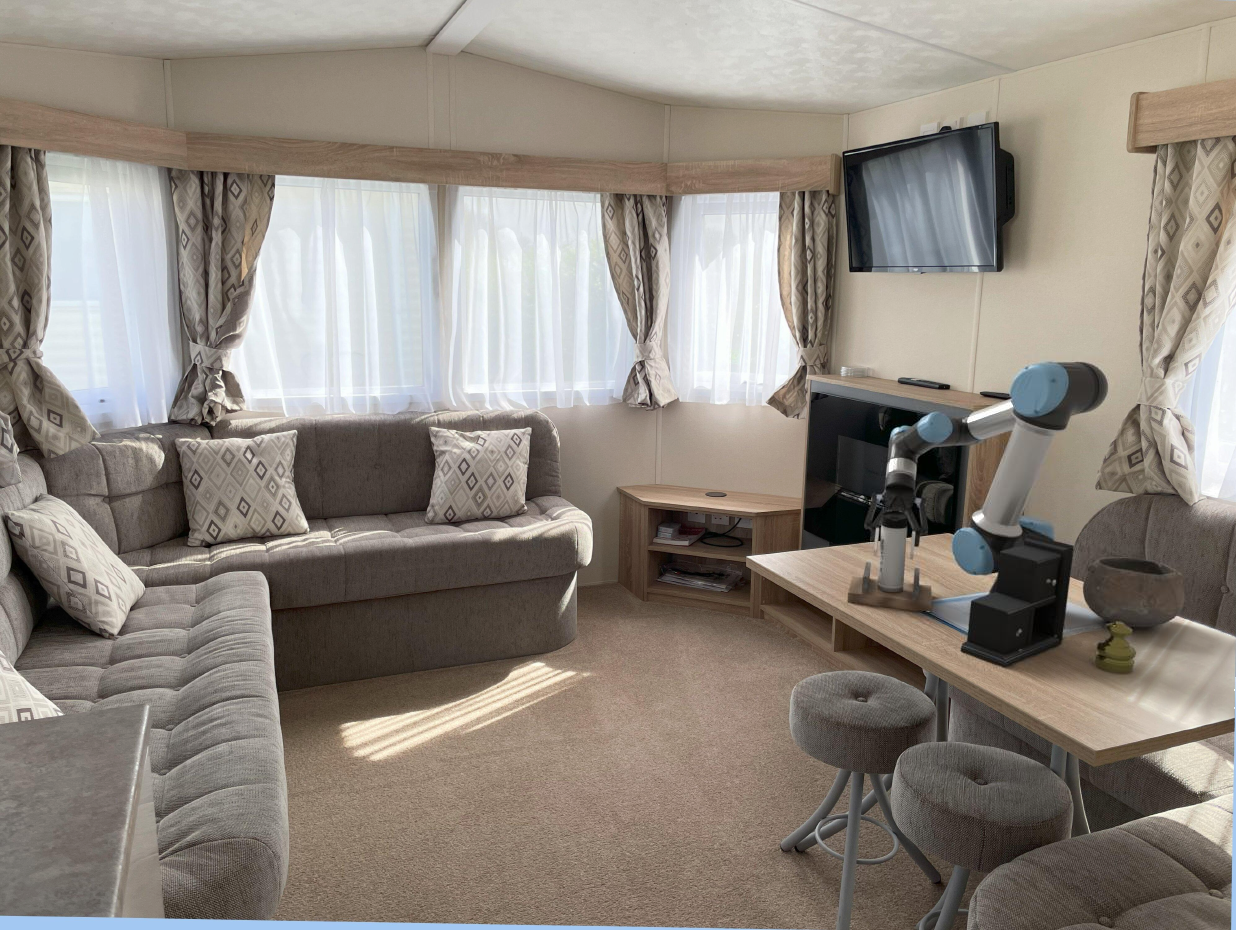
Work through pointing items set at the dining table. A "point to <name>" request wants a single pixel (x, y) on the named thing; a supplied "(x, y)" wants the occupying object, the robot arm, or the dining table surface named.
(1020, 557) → the black mini cabinet
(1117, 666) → the green coiled snake figurine
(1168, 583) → the clay pot
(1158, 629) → the dining table surface
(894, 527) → the travel mug
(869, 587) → the wooden rack
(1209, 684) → the dining table surface
